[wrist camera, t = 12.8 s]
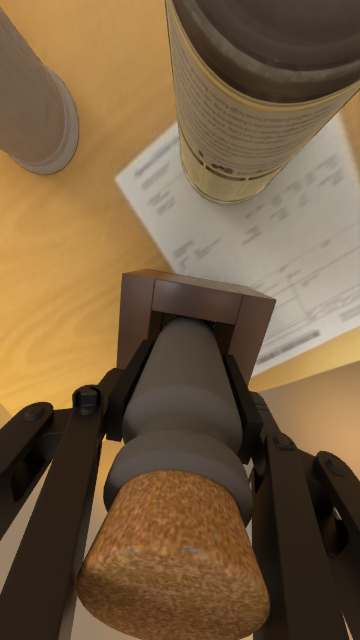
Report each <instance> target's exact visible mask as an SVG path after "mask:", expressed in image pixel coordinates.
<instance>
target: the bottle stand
mask: <svg viewBox="0 0 360 640" xmlns="http://www.w3.org/2000/svg"><path fill="white" fill-rule="evenodd" d="M275 303H276V299H273V298H271V297H269V296H267V295H264V294H262V293H260V292H258V291H256V290H253V289H251V288H249V287H247V286H241V285H235V284H229V283H223V282H218V281H212V280H206V279H200V278H194V277H189V276H183V275H177V274H171V273H166V272H160V271H154V270H148V269H145V270H139V271H133V272H127V273H122V285H121V301H120V318H119V334H118V350H117V366H116V368H119V369H124V370H125V368H126V367H127V365H128V363H129V362H130V360H131V359H132V357H133V355H134V354H135V352H136V351H137V349H138V347H139V346H140V344H141V342H142V341H143V339H144V340H150V341H153V342H152V348H153V346H154V344H155V342H156V340H157V337H158V335H159V331H160V324H161V317H162V312H164V313H170V314H175V315H181V316H187V317H193V318H198V319H204V320H210V321H215V322H216V325H215V329H214V333H213V334H214V336H215V339H216V342H217V345H218V348H219V351H220V354H221V357H222V359H223V355H224V354H230V355H233V356H234V358H235V360H236V362H237V365H238V367H239V369H240V371H241V374H242V376H243V378H244V380H245V383H246V385H247V387H248V384H249V381H250V378H251V375H252V372H253V369H254V366H255V363H256V360H257V357H258V354H259V351H260V348H261V345H262V342H263V339H264V336H265V333H266V330H267V327H268V324H269V321H270V318H271V315H272V312H273V309H274V306H275ZM151 351H152V350H151Z"/></svg>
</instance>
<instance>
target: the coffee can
mask: <svg viewBox="0 0 360 640" xmlns="http://www.w3.org/2000/svg"><path fill="white" fill-rule="evenodd" d="M165 7H166V16H167V26H168V36H169V44H170V53H171V64H172V72H173V80H174V89H175V99H176V109H177V118H178V128H179V138H180V154H181V162H182V166H183V169H184V172H185V174H186V176H187V178H188V180H189V182H190V183H191V185H192V186H193V187H194V189H195V190H196V191H197V192H198V193H199V194H200V195H202V196H203V197H204V198H206V199H208V200H210V201H212V202H215V203H219V204H236V203H241V202H244V201H246V200H248V199H250V198H252V197H254V196H255V195H257V194H258V193H259V192H261V191H262V190H263V189H264V188H265V187H266V186H267V185H268V184H269V183H270V181H271V180H272V179H273V178H274V177H275V176H276V175H277V174H278V173H279V172H280V171H281V170H282V169H283V168H284V167H285V166H286V164H287V163H288V162H289V161H290V160H291V159H292V158H293V157H294V156H295V155H296V154H297V153H298V152H299V151H300V150H301V149H302V148H303V147H304V146H305V145H306V144H307V143H308V142H309V141H310V140H311V139H312V138H313V137H314V136H315V135H316V134H317V133H318V132H319V131H320V130H321V129H322V128H323V127H324V126H325V125H326V124H327V123H328V122H329V121H330V120H331V119H332V118H333V117H334V115H335V114H336V113H337V112H338V111H339V110H340V109H341V108H342V107H343V106H344V105H345V104H346V103H348V101H349V100H350V99H351V98H352V97H353V96H354V95H355V94H356V93H357V92H358V91H359V90H360V0H165Z"/></svg>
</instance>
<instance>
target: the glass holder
mask: <svg viewBox="0 0 360 640" xmlns="http://www.w3.org/2000/svg"><path fill="white" fill-rule="evenodd" d="M78 135H79V124H78V116H77V111H76V108H75V105H74V102H73V99H72V97H71V95H70V93H69V91H68V89H67V88H66V86H65V85H64V83H63V82H62V81H61V79H60V78H59V77H58V76H57V75H56V74H55V73H54V72H53V71H52V70H50V69H49V68H48V67H47V66H45V65H43V63H42V62H41V61H40V59H39V58H38V57H37V55H36V54H35V53H34V51H33V50H32V49H31V47H30V46H29V45H28V43H27V42H26V41H25V39H24V38H23V37H22V35H21V34H20V33H19V31H18V30H17V29H16V27H15V26H14V25H13V23H12V22H11V21H10V19H9V18H8V17H7V15H6V14H5V13H4V11H3V10H2V9H1V7H0V149H1V150H3V151H5V152H6V153H8V154H9V156H10V157H11V158H12V159H13V160H14V161H15V162H16V163H18V164H19V165H20V166H22V167H23V168H25V169H27V170H29V171H31V172H33V173H37V174H45V175H46V174H53V173H55V172H58V171H60V170H61V169H62V168H64V167H65V166H66V165H67V164H68V163H69V162H70V160H71V158H72V157H73V155H74V152H75V150H76V147H77V142H78Z"/></svg>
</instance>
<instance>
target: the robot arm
mask: <svg viewBox="0 0 360 640" xmlns="http://www.w3.org/2000/svg"><path fill="white" fill-rule="evenodd" d="M152 342H153V341H150V340H144V339H143V341H142V342H141V344H140V346H139V347H138V349H137V351H136V352H135V354H134V355H133V357H132V359H131V360H130V362H129V363H128V365H127V367H126V368H125V370H124V369H119V368H113V369H111V370H110V371H108V372H107V373H106V375H105V376H104V378H103V379H102V380H101V381H100V383H99V384H98V385H92V384H91V385H85V386H82V387H80V388H78V389H77V390H75V392H74V393H73V394H72V401H73V408H69V409H60V410H53V406H52V405H51V403H48V402H38V403H33V404H31V405H29V406H26V407H25V408H23V409H22V410H20V411H19V412H18V413H17V414H16V415H15V416H14V417H13V418H12V419H11V420H10V421H9V422H8V423H6V424H5V425H4V426H3V427H2V428H1V429H0V541H1V539H2V537H3V536H4V534H5V533H6V531H7V530H8V528H9V527H10V525H11V523H12V522H13V520H14V519H15V517H16V516H17V514H18V513H19V511H20V509H21V508H22V506H23V505H24V503H25V502H26V500H27V498H28V497H29V495H30V494H31V492H32V491H33V489H34V488H35V486H36V485H37V483H38V481H39V480H40V478H41V477H42V475H43V474H44V472H45V471H46V469H47V467H48V466H49V464H50V463H51V461H52V460H53V461H52V464H51V466H50V469H49V471H48V474H47V476H46V479H45V482H44V484H43V487H42V489H41V492H40V495H39V497H38V499H37V502H36V505H35V507H34V510H33V512H32V515H31V517H30V520H29V522H28V525H27V528H26V530H25V533H24V535H23V538H22V540H21V543H20V546H19V548H18V551H17V553H16V556H15V558H14V561H13V564H12V566H11V569H10V571H9V574H8V576H7V579H6V582H5V584H4V587H3V589H2V592H1V594H0V640H70V638H71V632H72V625H73V619H74V613H75V607H76V600H77V591H76V578H77V574H78V571H79V569H80V567H81V565H82V563H83V559H84V553H85V546H86V540H87V534H88V528H89V522H90V516H91V510H92V503H93V498H94V492H95V486H96V480H97V473H98V467H99V461H100V455H101V448H102V440H103V438H104V436H105V434H106V439H107V440H113V441H118V442H121V440H122V431H121V426H122V419H123V416H124V413H125V410H126V408H127V405H128V403H129V401H130V398H131V396H132V393H133V391H134V389H135V386H136V384H137V382H138V380H139V377H140V375H141V373H142V371H143V368H144V366H145V364H146V362H147V359H148V357H149V355H150V353H151V350H152ZM222 361H223V364H224V367H225V370H226V374H227V377H228V380H229V383H230V387H231V390H232V393H233V396H234V400H235V403H236V406H237V410H238V413H239V417H240V420H241V425H242V432H243V438H242V443H241V447H240V449H239V451H238V453H237V456H238V458H239V459H240V460H241V462H242V464H246V465H248V463H249V461H250V458H252V461H253V464H254V466H253V469H252V471H251V473H250V476H249V478H248V481H249V485H250V482H251V485H252V486H251V488H252V489H251V493H252V498H253V515H252V549H253V551H254V554H255V557H256V560H257V563H258V565H259V568H260V571H261V574H262V577H263V580H264V582H265V585H266V588H267V591H268V594H269V599H270V611H269V616H268V618H267V620H266V621H265V623H264V624H263V625H262V626H261V627H260V628H259V629H258V630H256V631H255V632H254V633H253V640H349V636H348V632H347V629H346V625H345V621H346V623H347V625H348V628H349V630H350V633H351V635H352V638H353V640H360V481H359V480H358V478H357V477H356V476H355V474H354V473H353V472H352V470H351V469H350V468H349V467H348V465H346V463H345V462H343V461H342V460H341V459H340V458H338V457H337V456H335V455H333V454H332V453H329V452H326V451H320V452H318V453H317V455H316V457H315V456H313V455H311V454H308V453H306V452H304V451H302V450H300V449H298V448H297V447H296V445H295V443H294V442H293V441H292V440H291V439H290V438H289V437H288V436H287V435H286V434H284V433H282V432H281V431H280V429H279V428H278V426H277V424H276V422H275V420H274V418H273V416H272V414H271V413H270V410H269V408H268V407H267V405H266V403H265V401H264V399H263V398H262V397H261V396H260V395H259V394H258V393H257V392H252V391H249V389H248V387H247V385H246V383H245V380H244V378H243V376H242V374H241V371H240V369H239V367H238V365H237V362H236V360H235V358H234V356H233V355H230V354H224V355H223V359H222ZM336 509H337V511H338V513H339V515H340V517H341V519H342V520H341V519H340V518H339V516H338V515H337V513H336V511H335V510H336ZM342 613H343V614H342ZM343 616H344V618H345V621H344V618H343Z"/></svg>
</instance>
